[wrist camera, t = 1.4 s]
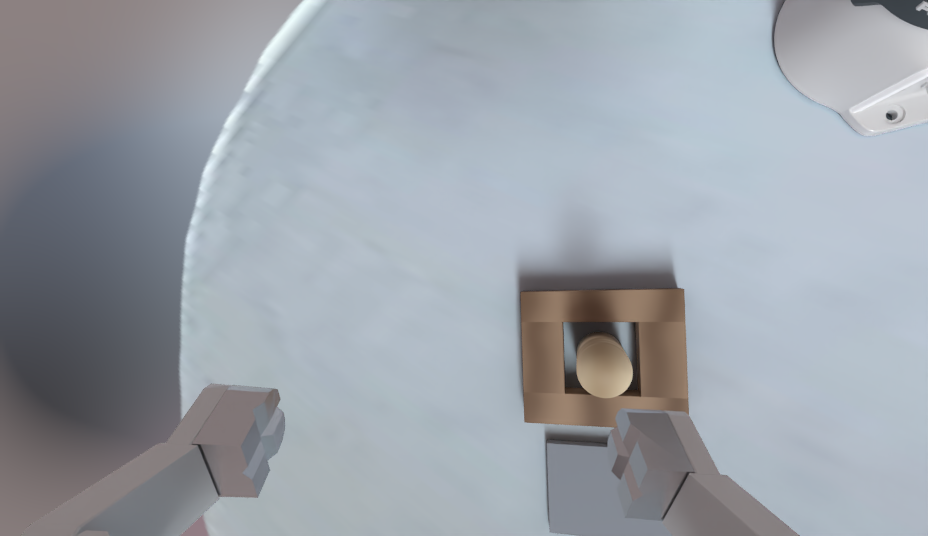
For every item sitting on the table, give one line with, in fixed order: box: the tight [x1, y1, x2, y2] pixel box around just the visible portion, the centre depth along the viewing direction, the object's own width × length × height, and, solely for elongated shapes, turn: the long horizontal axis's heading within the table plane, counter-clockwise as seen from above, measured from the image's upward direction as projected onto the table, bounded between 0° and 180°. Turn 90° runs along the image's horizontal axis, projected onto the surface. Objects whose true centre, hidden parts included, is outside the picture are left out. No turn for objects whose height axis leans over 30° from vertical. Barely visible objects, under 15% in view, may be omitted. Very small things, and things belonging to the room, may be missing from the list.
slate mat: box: [547, 440, 672, 536], centre depth 43 cm, size 13×9×1 cm
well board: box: [520, 288, 689, 428], centre depth 43 cm, size 15×13×2 cm
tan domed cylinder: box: [576, 332, 633, 398], centre depth 40 cm, size 4×4×8 cm
